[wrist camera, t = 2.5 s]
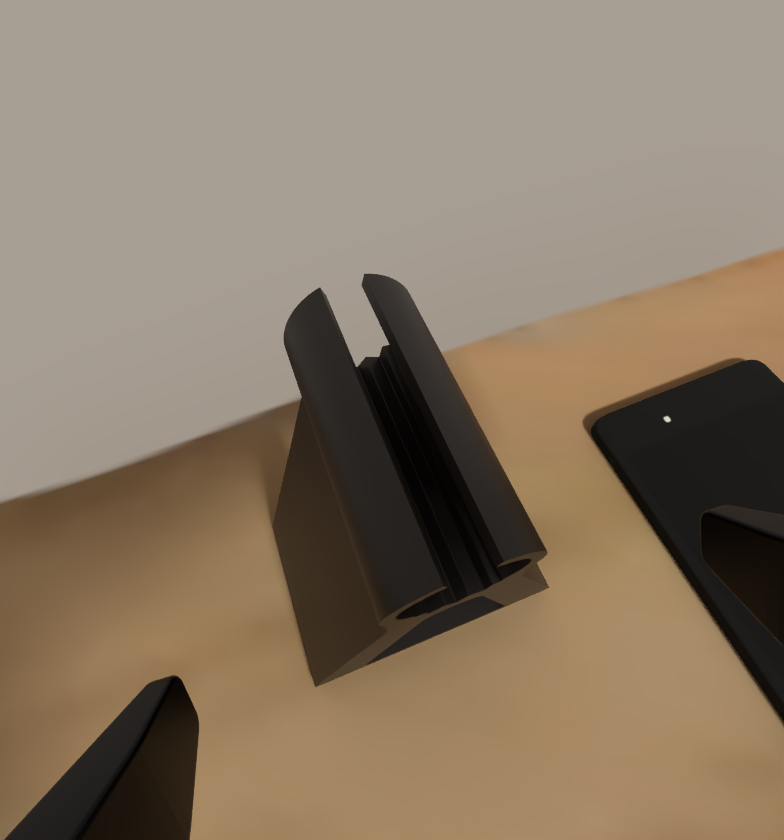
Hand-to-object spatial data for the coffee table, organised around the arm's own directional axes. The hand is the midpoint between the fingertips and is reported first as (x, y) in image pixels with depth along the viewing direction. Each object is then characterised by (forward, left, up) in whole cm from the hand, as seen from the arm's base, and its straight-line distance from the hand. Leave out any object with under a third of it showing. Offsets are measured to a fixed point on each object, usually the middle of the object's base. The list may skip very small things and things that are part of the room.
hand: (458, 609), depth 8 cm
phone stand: (0, +3, -11) cm, 11 cm away
